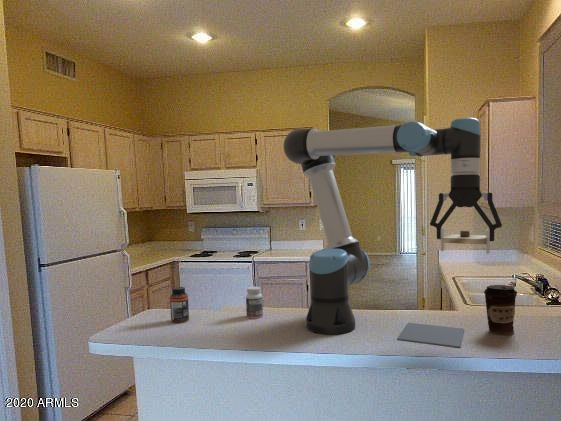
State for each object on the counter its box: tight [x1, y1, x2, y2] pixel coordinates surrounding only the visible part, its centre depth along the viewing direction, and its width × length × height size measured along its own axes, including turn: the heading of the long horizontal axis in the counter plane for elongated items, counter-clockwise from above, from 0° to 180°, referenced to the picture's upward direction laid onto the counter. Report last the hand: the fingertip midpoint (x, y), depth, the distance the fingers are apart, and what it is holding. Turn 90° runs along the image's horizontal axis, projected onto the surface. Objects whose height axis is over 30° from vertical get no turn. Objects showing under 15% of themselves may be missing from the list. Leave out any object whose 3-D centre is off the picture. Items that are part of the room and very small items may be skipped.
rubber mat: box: [396, 322, 465, 349], centre depth 114 cm, size 16×16×1 cm
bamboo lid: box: [442, 230, 487, 245], centre depth 114 cm, size 11×11×3 cm
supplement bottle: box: [169, 286, 190, 324], centre depth 135 cm, size 6×6×11 cm
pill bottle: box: [245, 286, 264, 319], centre depth 138 cm, size 6×6×10 cm
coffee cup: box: [483, 284, 518, 336], centre depth 114 cm, size 9×8×13 cm
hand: (464, 251), depth 114 cm, fingers closed on bamboo lid, 11 cm apart
